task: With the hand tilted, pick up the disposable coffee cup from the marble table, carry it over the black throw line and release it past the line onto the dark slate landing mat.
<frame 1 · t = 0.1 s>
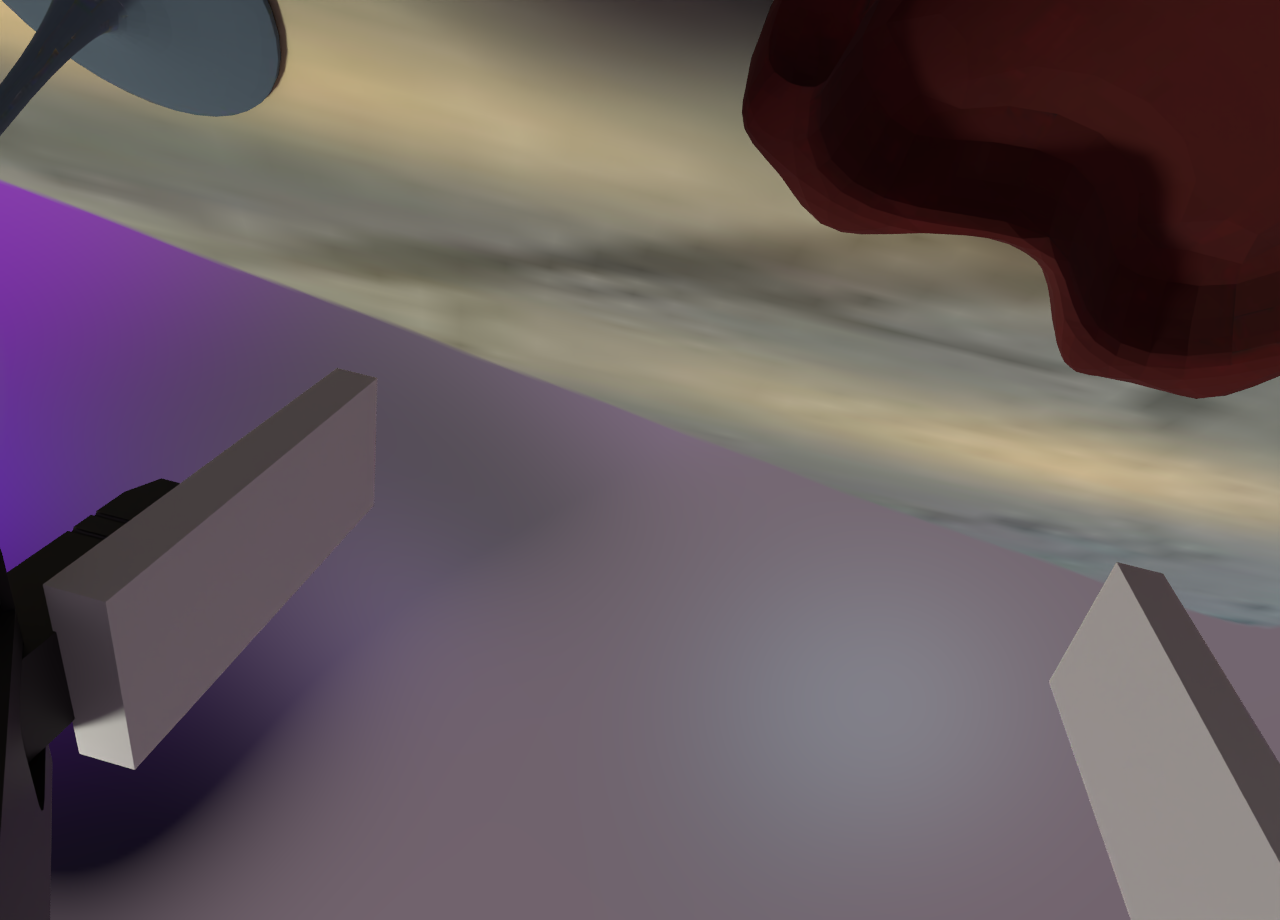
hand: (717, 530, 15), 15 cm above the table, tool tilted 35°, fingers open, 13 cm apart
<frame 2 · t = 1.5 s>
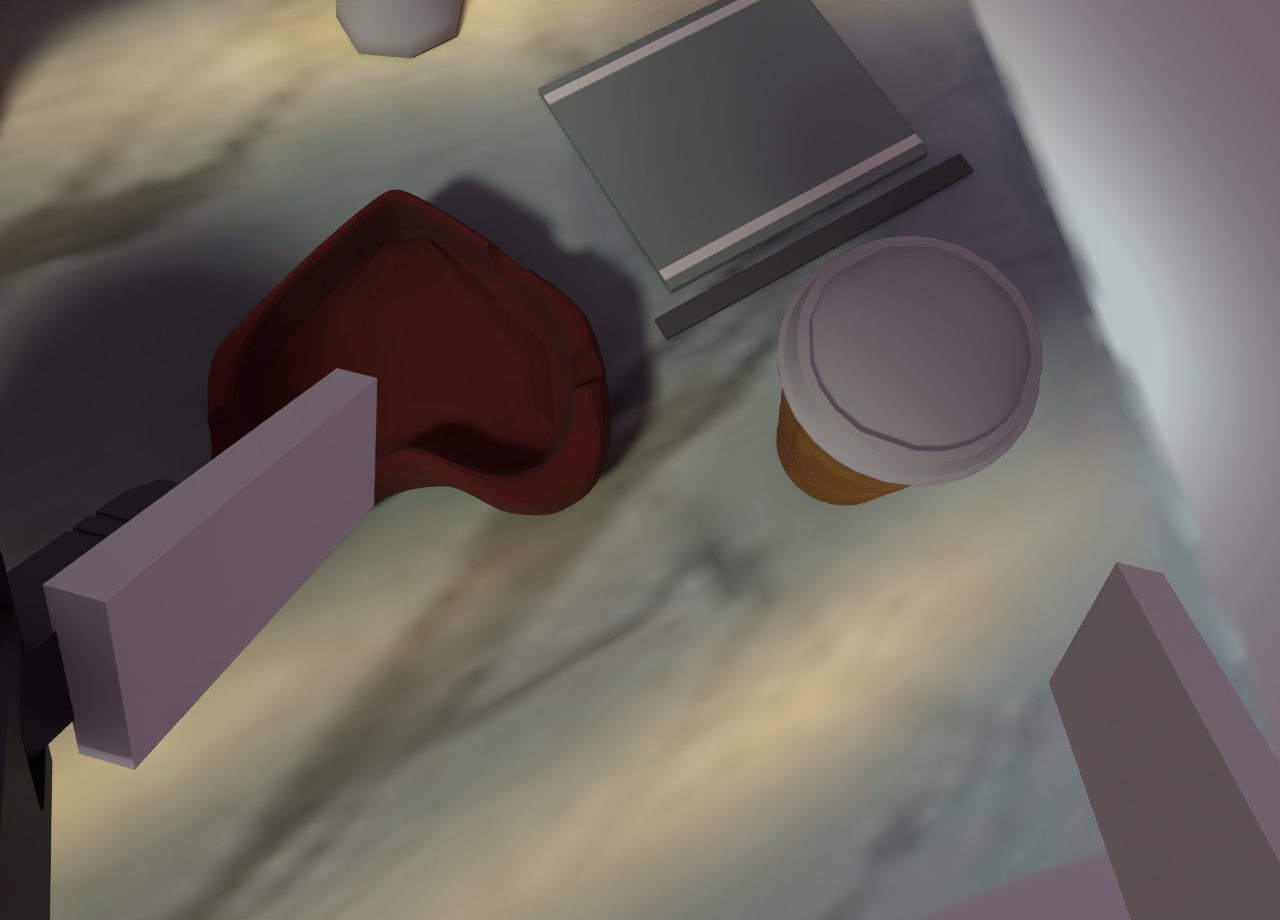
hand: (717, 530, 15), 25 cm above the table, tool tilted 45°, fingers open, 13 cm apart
landing mat: (730, 124, 46), on the table
flask: (402, 12, 48), on the table
disposable coffee cup: (839, 443, 41), on the table
throw line: (817, 245, 44), on the table
ashtray: (427, 383, 42), on the table
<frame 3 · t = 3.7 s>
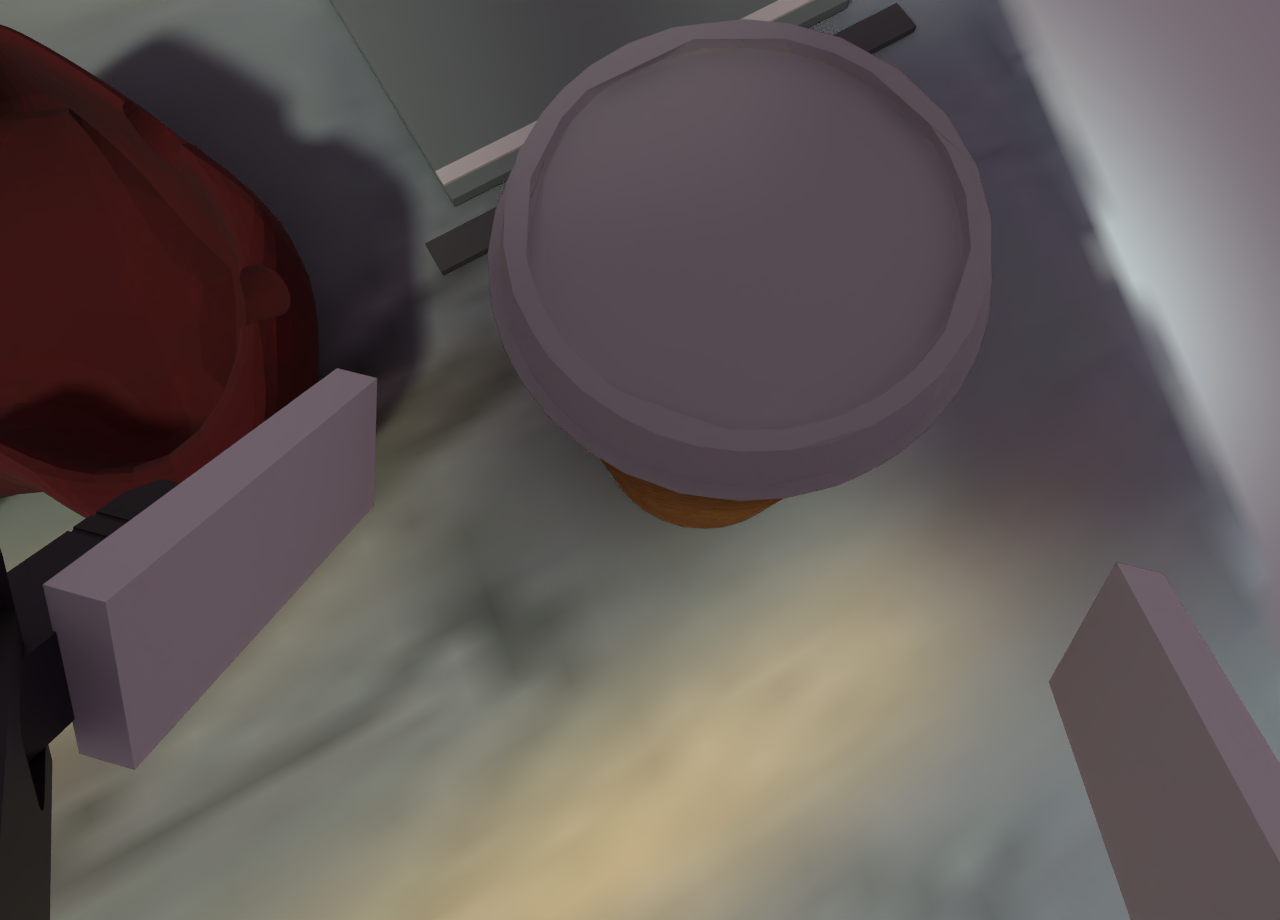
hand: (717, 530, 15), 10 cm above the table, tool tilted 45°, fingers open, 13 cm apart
disposable coffee cup: (701, 431, 27), on the table
throw line: (680, 135, 29), on the table
ashtray: (77, 333, 28), on the table
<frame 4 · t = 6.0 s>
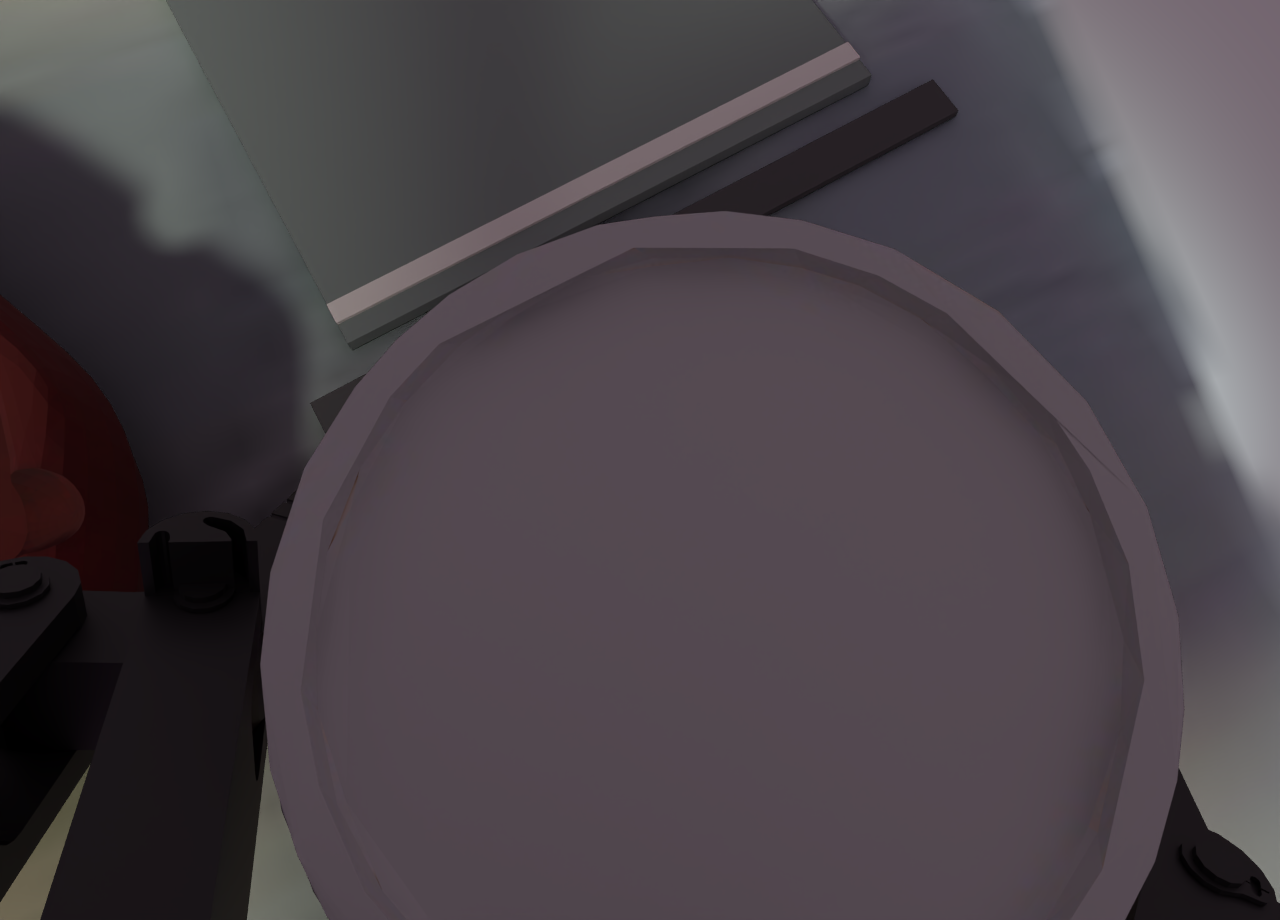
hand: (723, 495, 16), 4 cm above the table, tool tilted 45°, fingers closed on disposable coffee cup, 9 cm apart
landing mat: (502, 28, 24), on the table
disposable coffee cup: (671, 669, 20), on the table, touching gripper
throw line: (651, 253, 22), on the table
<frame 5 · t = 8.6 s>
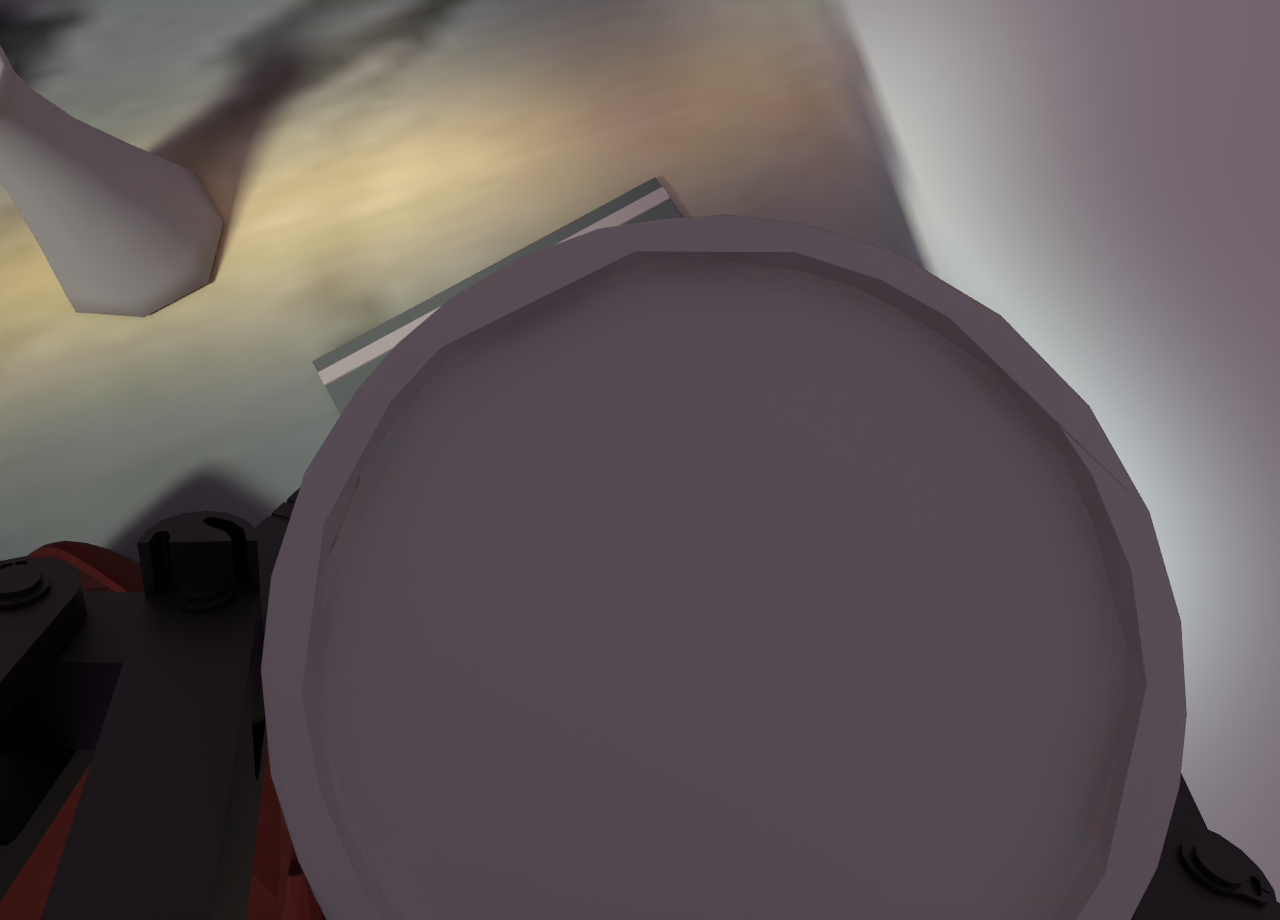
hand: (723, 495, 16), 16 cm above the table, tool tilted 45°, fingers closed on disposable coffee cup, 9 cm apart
landing mat: (575, 406, 33), on the table
flask: (144, 246, 36), on the table
disposable coffee cup: (671, 671, 20), point 11 cm above the table, touching gripper
ashtray: (131, 787, 30), on the table
when the fingers open (6 cm above the table, at t = 11.6 s): disposable coffee cup moves 3 cm, resting on landing mat.
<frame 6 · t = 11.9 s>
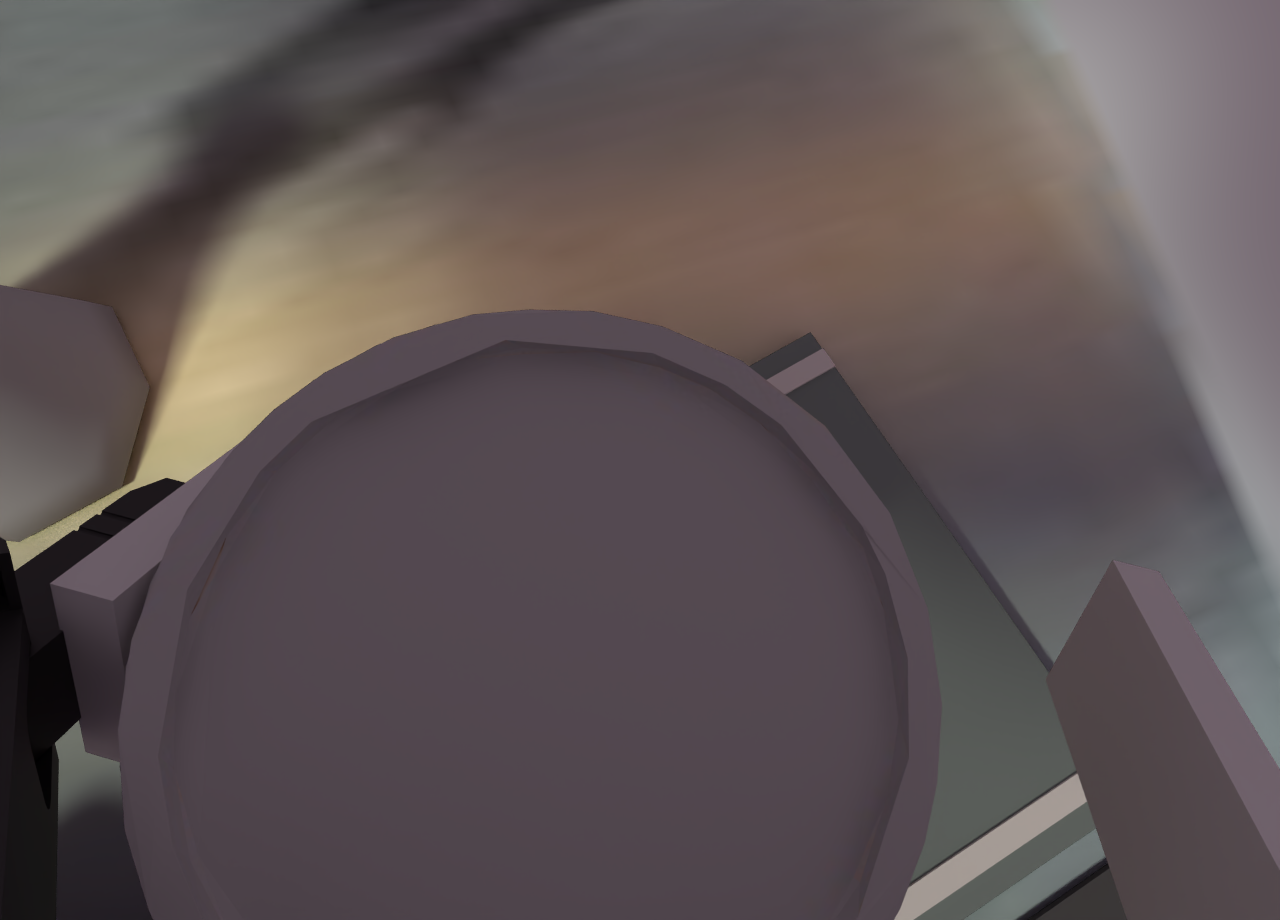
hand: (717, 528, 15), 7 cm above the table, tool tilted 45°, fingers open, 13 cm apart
landing mat: (694, 710, 21), on the table
flask: (29, 420, 24), on the table
disposable coffee cup: (529, 668, 21), point 1 cm above the table, touching gripper, landing mat
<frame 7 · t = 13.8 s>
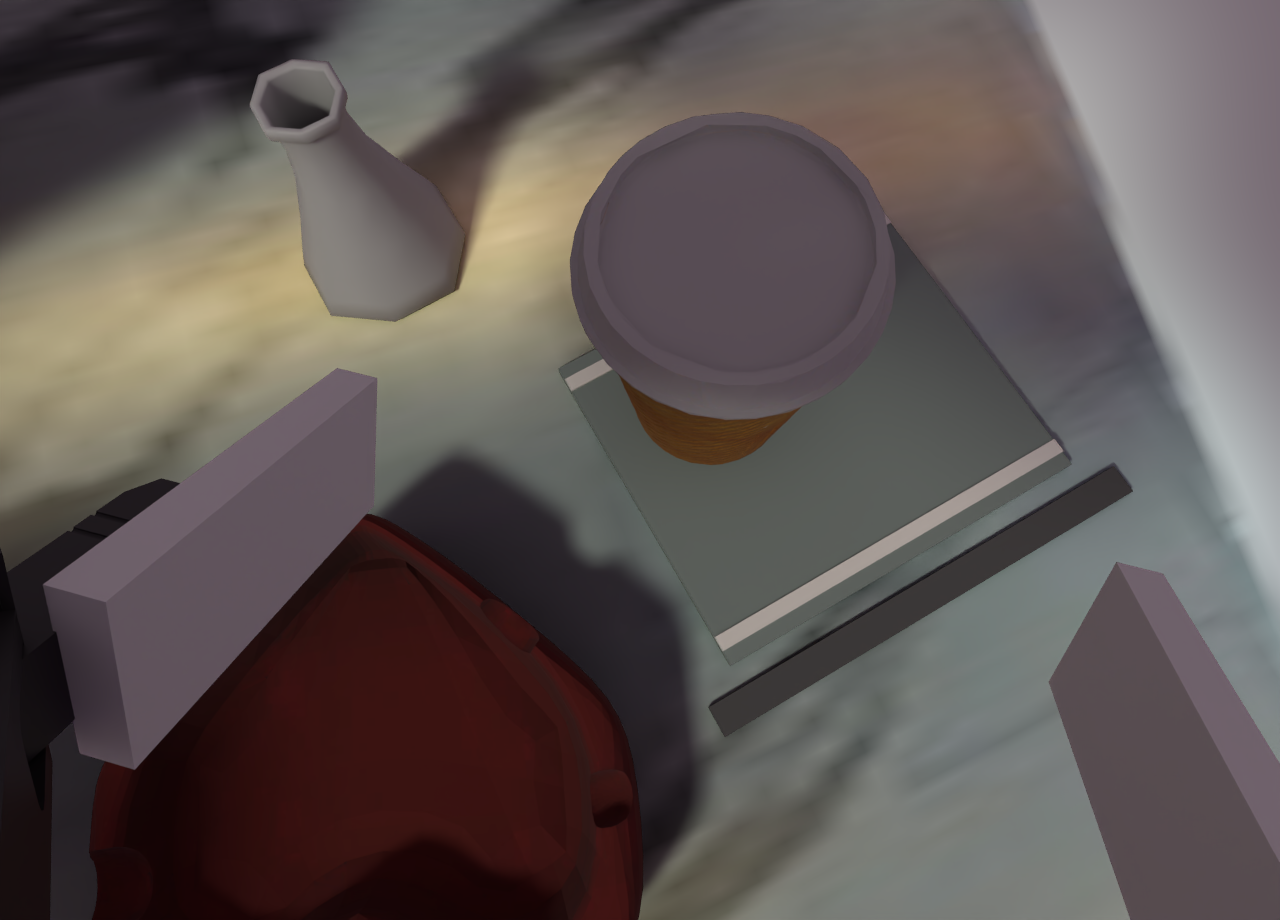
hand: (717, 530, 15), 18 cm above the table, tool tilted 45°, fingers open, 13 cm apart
landing mat: (807, 418, 35), on the table
flask: (388, 255, 38), on the table
disposable coffee cup: (708, 394, 35), resting on landing mat
throw line: (925, 596, 33), on the table
ashtray: (401, 746, 32), on the table
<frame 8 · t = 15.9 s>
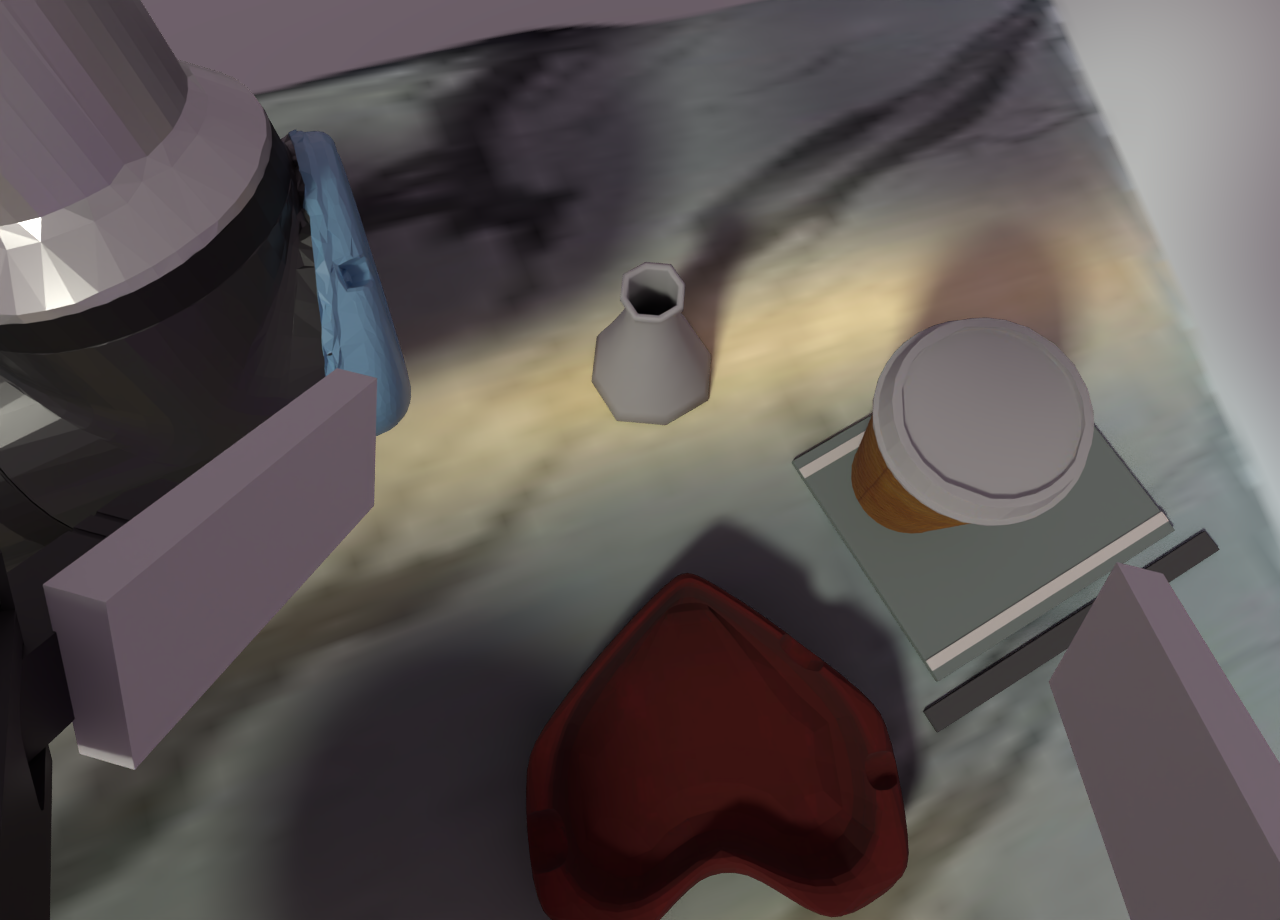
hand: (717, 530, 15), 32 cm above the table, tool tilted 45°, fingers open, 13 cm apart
landing mat: (978, 496, 48), on the table
flask: (651, 371, 50), on the table
disposable coffee cup: (905, 479, 48), resting on landing mat
throw line: (1073, 628, 46), on the table
ashtray: (700, 737, 45), on the table
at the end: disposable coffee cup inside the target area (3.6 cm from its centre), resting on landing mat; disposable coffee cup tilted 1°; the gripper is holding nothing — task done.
